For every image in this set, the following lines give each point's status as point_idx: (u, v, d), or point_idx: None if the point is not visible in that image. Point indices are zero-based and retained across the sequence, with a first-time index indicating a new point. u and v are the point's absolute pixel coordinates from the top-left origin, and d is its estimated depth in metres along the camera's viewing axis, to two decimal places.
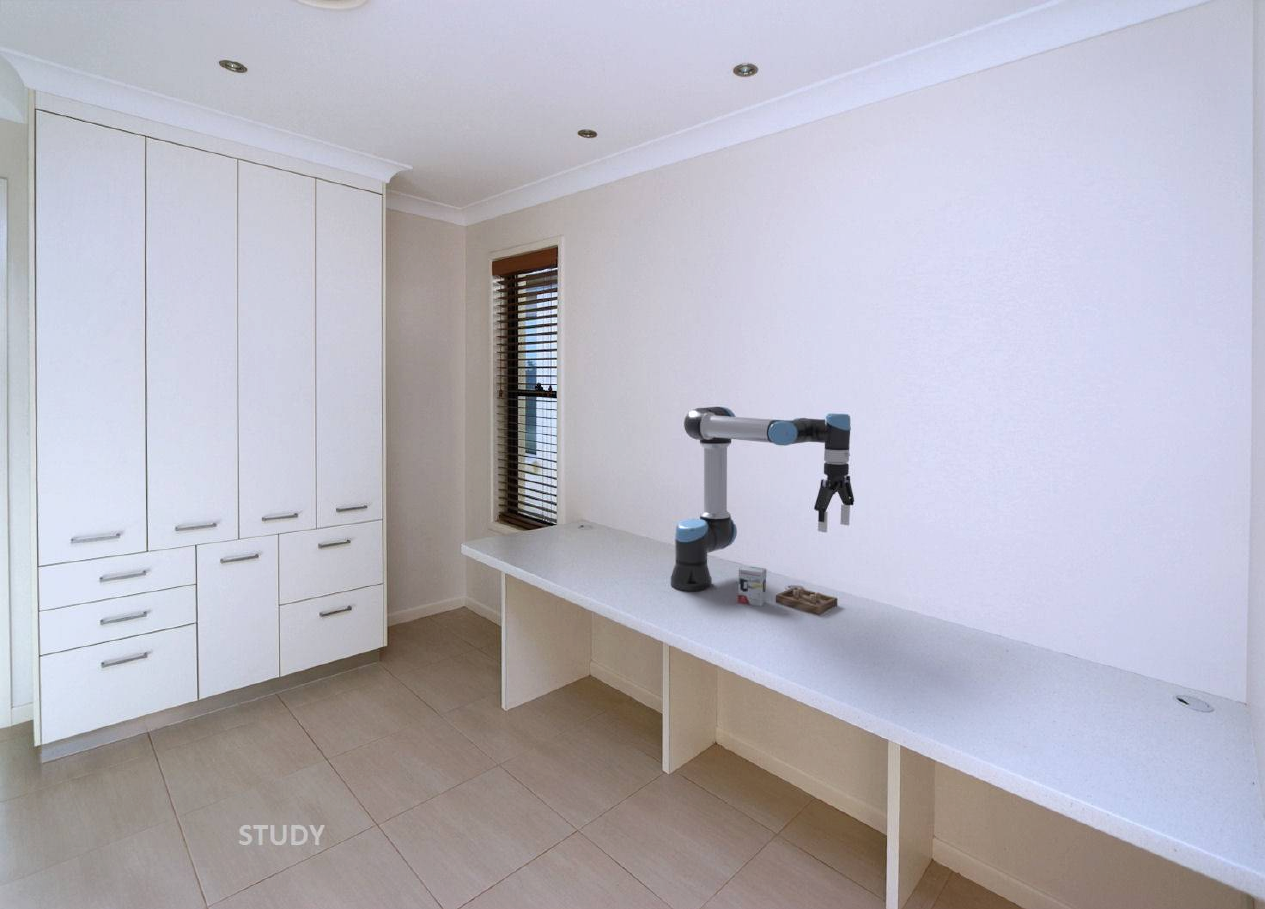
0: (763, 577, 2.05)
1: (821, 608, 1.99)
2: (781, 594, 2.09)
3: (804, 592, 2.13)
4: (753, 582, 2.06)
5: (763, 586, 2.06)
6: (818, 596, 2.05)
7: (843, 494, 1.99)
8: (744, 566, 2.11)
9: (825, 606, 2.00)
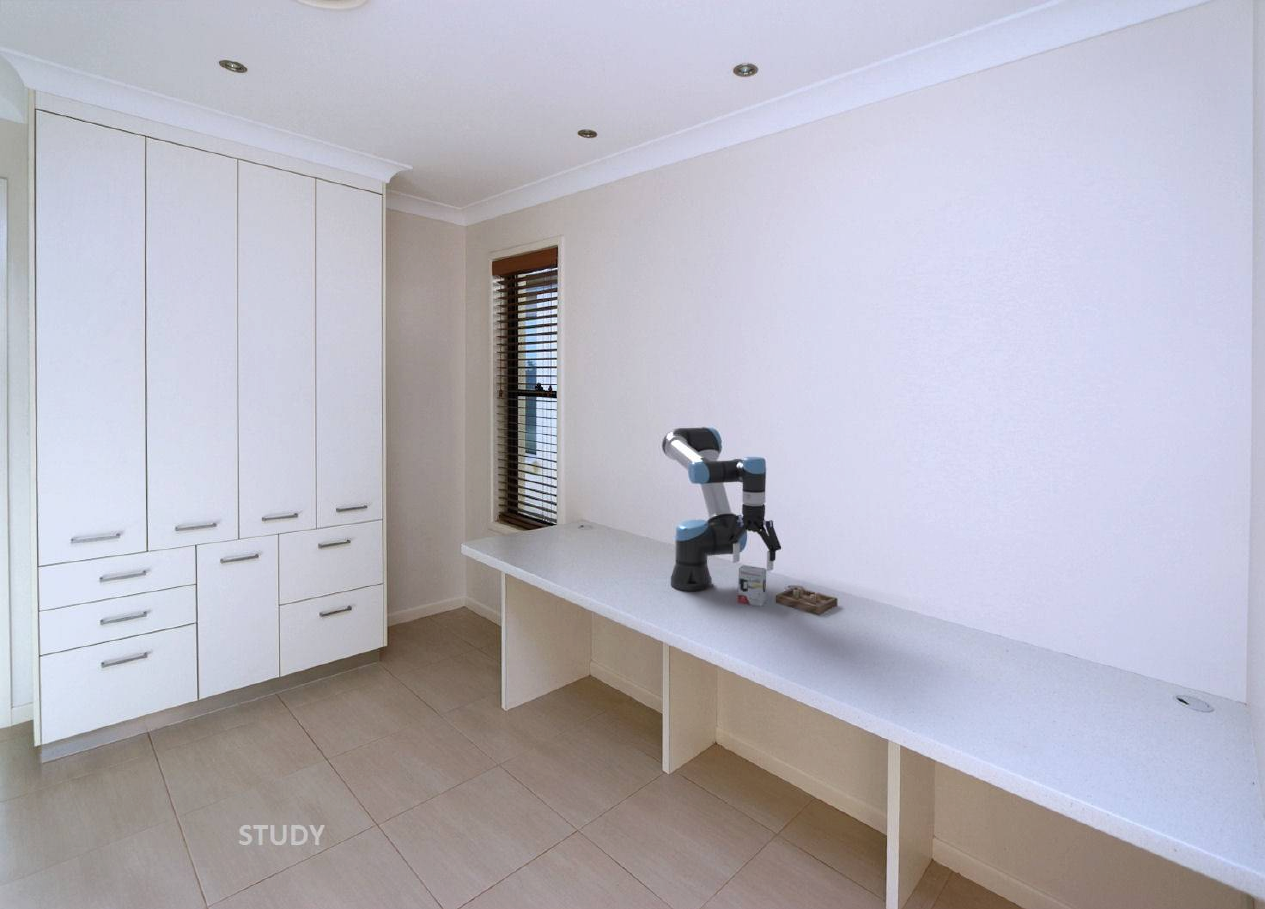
0: (763, 577, 2.05)
1: (821, 608, 1.99)
2: (781, 594, 2.09)
3: (804, 592, 2.13)
4: (753, 582, 2.06)
5: (763, 586, 2.06)
6: (818, 596, 2.05)
7: None
8: (744, 566, 2.11)
9: (825, 606, 2.00)
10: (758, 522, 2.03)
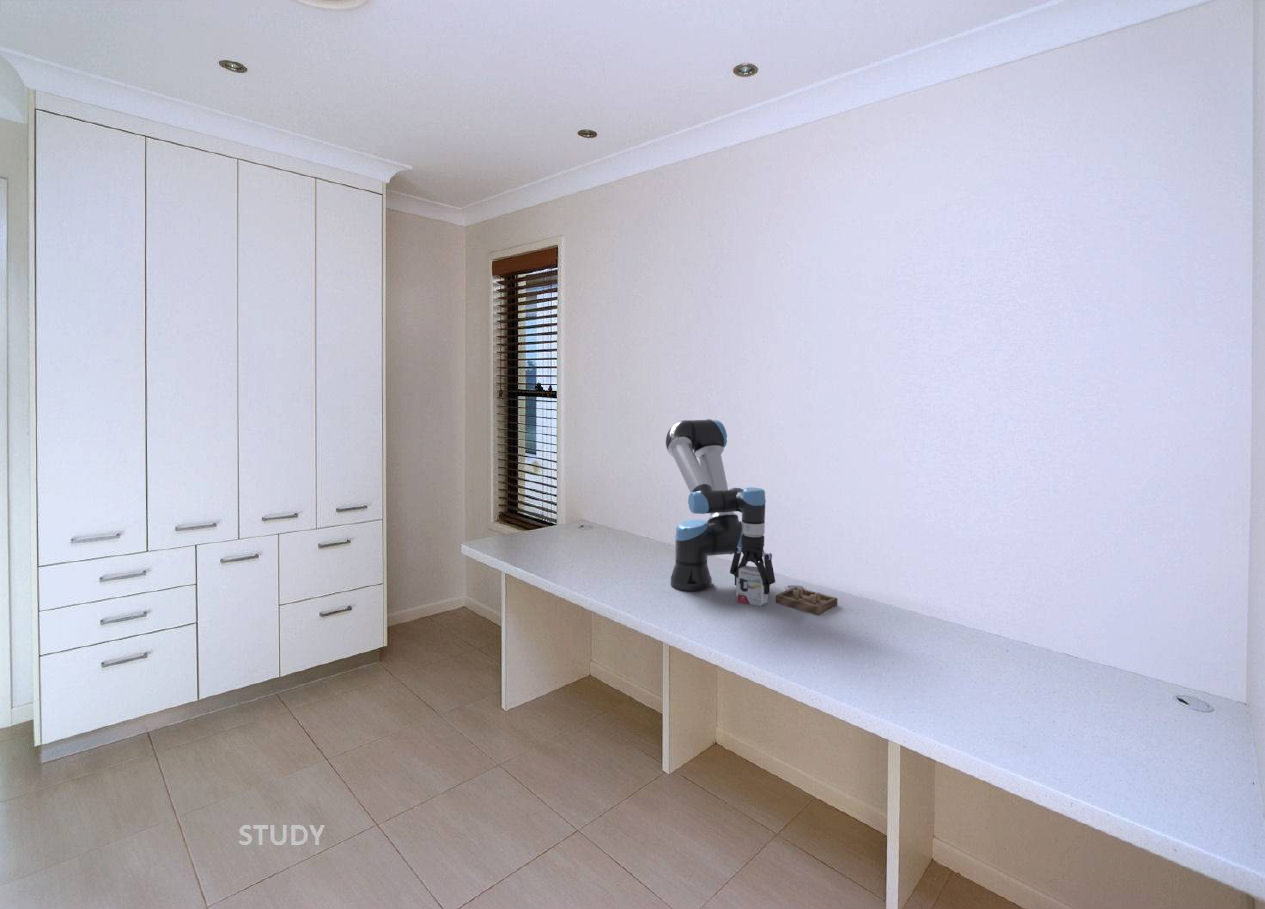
0: None
1: (821, 608, 1.99)
2: (781, 594, 2.09)
3: (804, 592, 2.13)
4: (753, 582, 2.06)
5: None
6: (818, 596, 2.05)
7: None
8: (744, 566, 2.11)
9: (825, 606, 2.00)
10: (757, 553, 2.05)
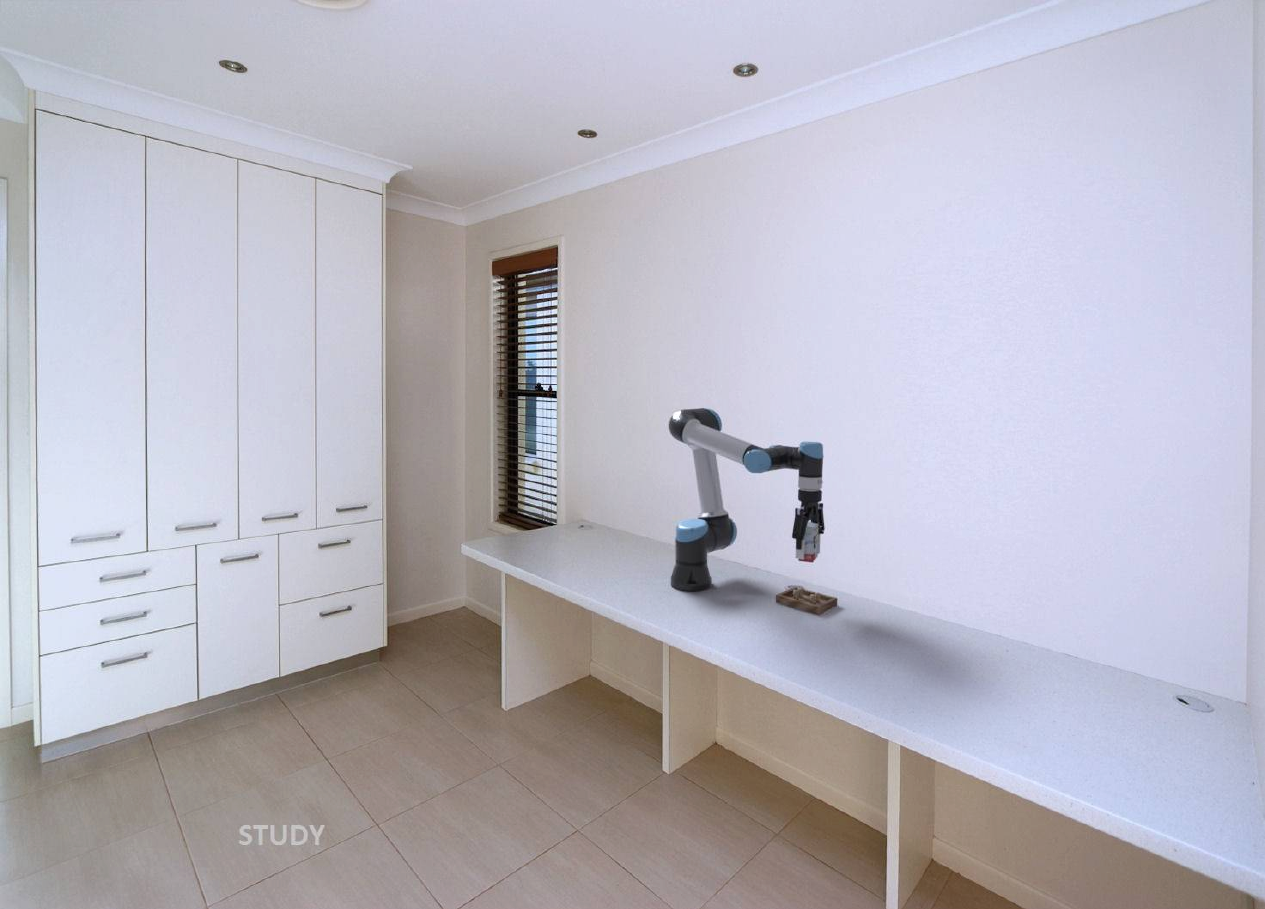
0: None
1: (821, 608, 1.99)
2: (781, 594, 2.09)
3: (804, 592, 2.13)
4: (816, 535, 2.05)
5: None
6: (818, 596, 2.05)
7: (815, 521, 2.06)
8: None
9: (825, 606, 2.00)
10: (816, 505, 2.05)
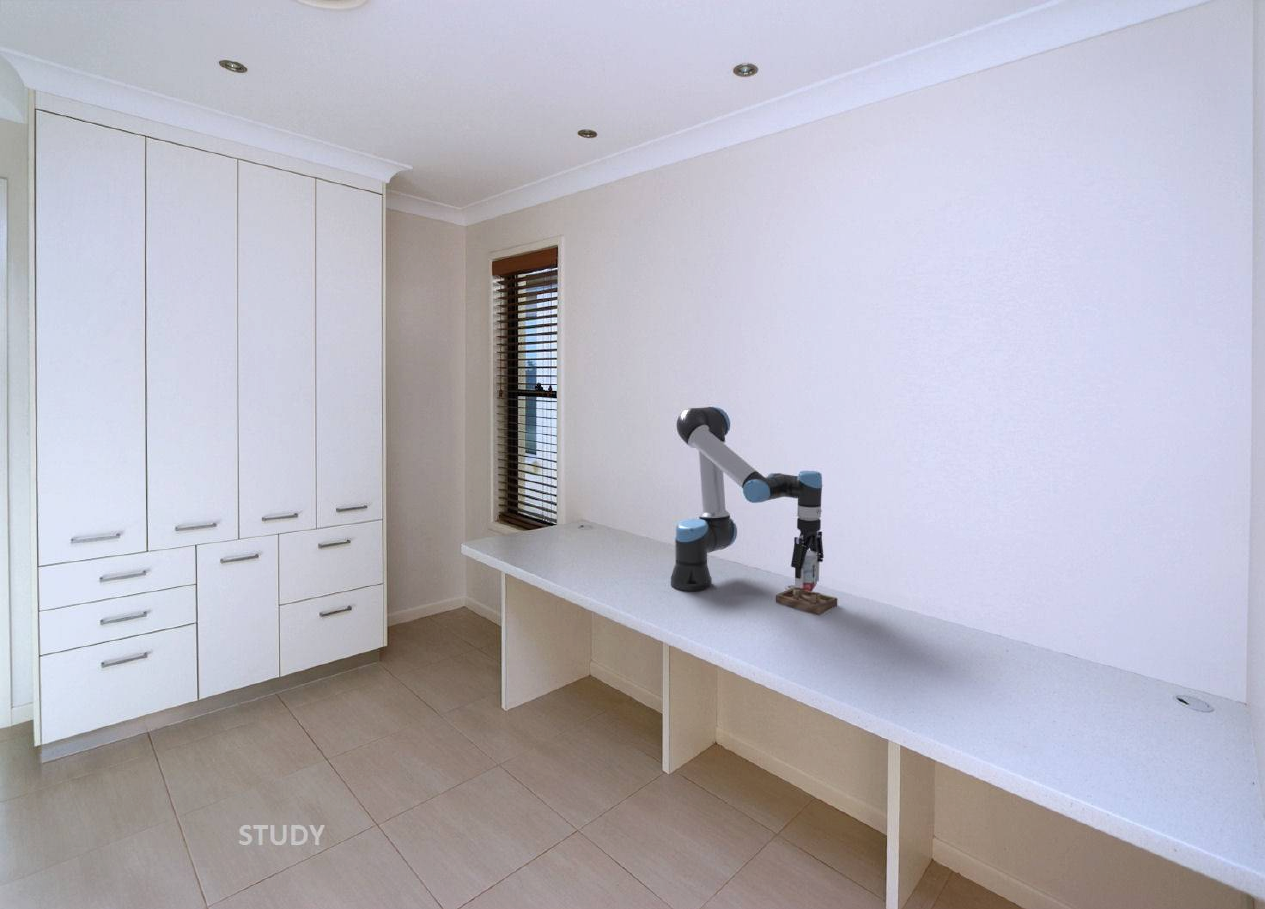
0: None
1: (821, 608, 1.99)
2: (781, 594, 2.09)
3: (804, 592, 2.13)
4: (815, 564, 2.06)
5: None
6: (818, 596, 2.05)
7: (814, 549, 2.07)
8: None
9: (825, 606, 2.00)
10: (815, 533, 2.06)
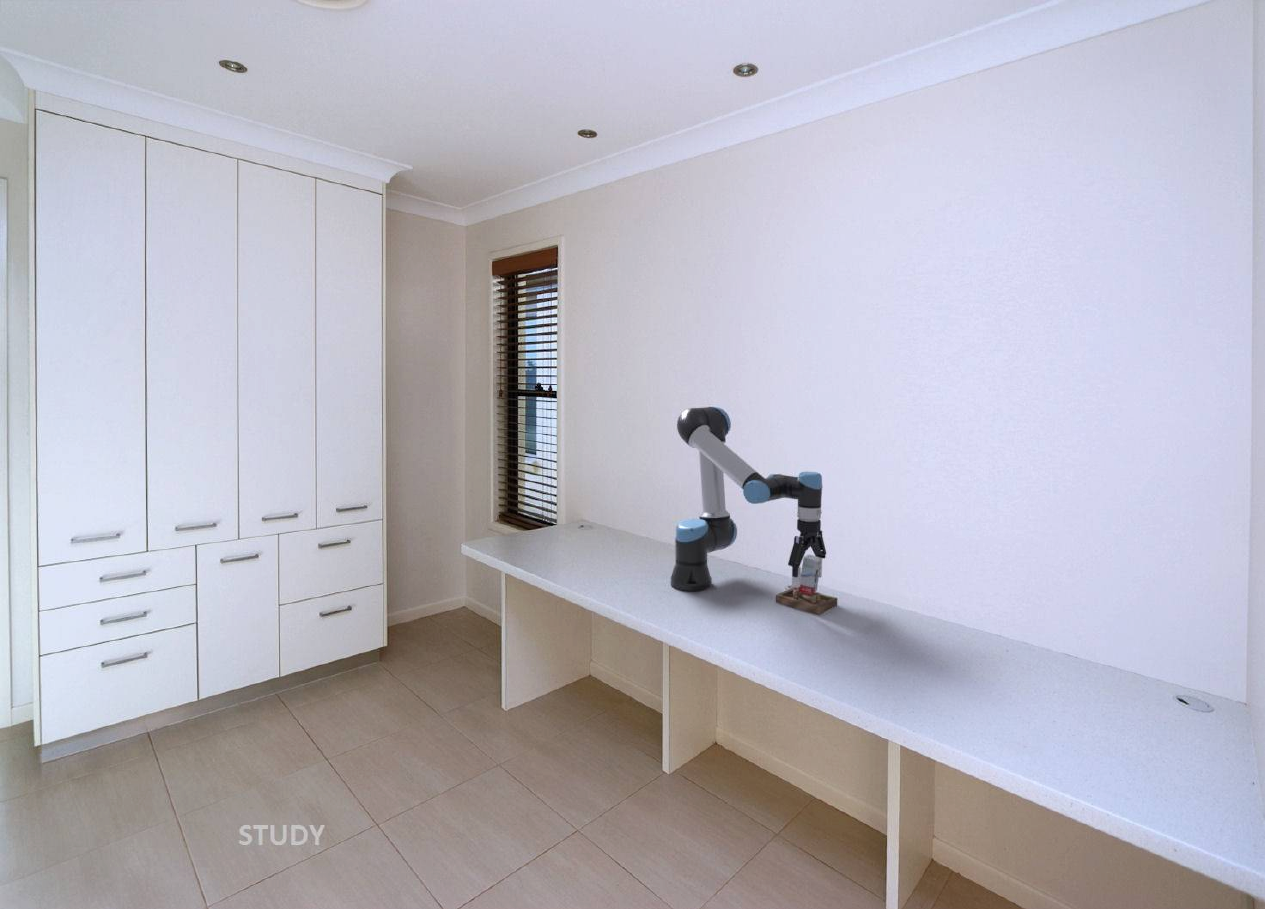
0: None
1: (821, 608, 1.99)
2: (781, 594, 2.09)
3: None
4: (819, 570, 2.07)
5: None
6: (818, 596, 2.05)
7: (815, 548, 2.08)
8: (808, 558, 2.04)
9: (825, 606, 2.00)
10: (815, 535, 2.06)
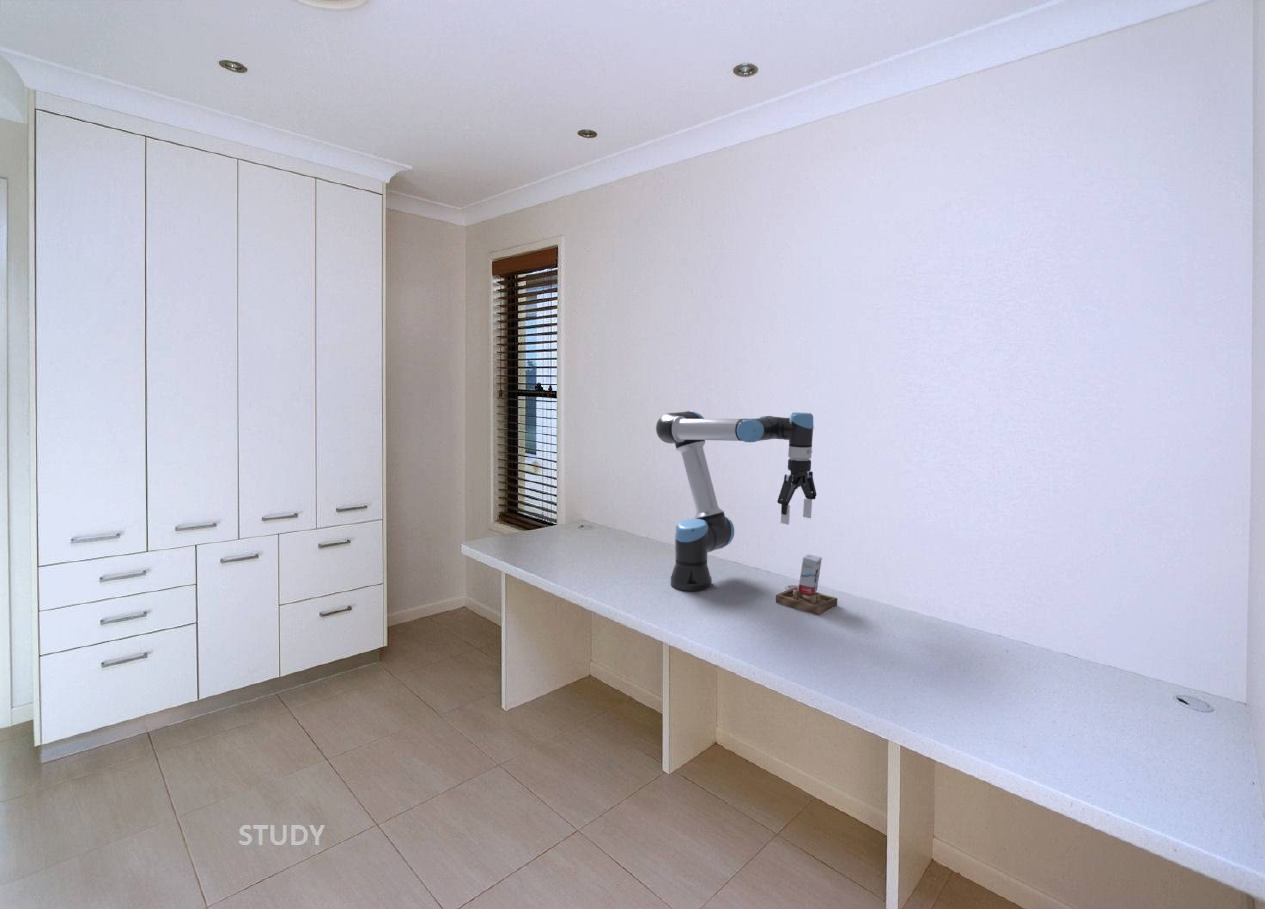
0: None
1: (821, 608, 1.99)
2: (781, 594, 2.09)
3: None
4: (818, 569, 2.07)
5: None
6: (818, 596, 2.05)
7: (806, 489, 2.11)
8: (807, 558, 2.04)
9: (825, 606, 2.00)
10: (806, 475, 2.09)
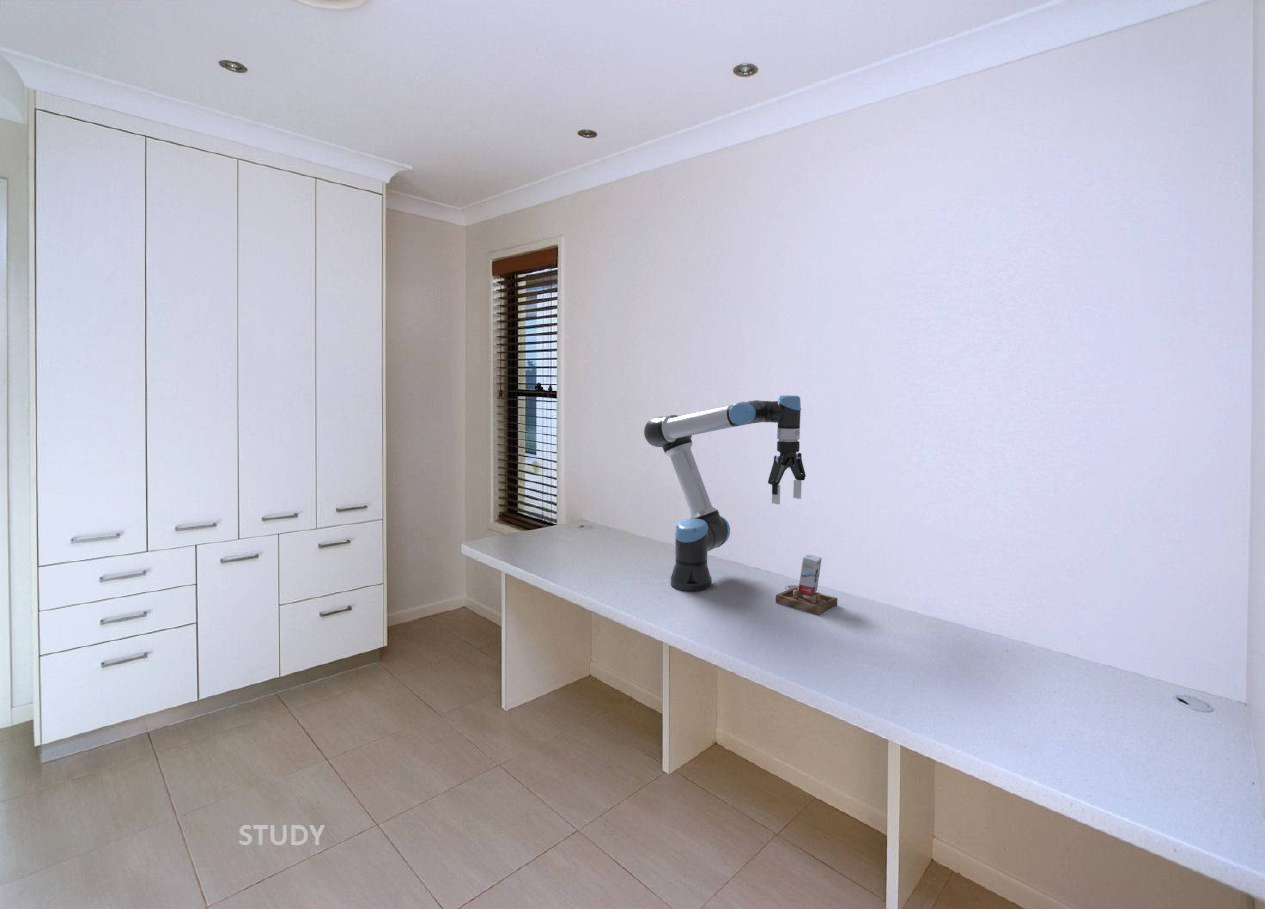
0: None
1: (821, 608, 1.99)
2: (781, 594, 2.09)
3: None
4: (818, 569, 2.07)
5: None
6: (818, 596, 2.05)
7: (795, 470, 2.17)
8: (807, 558, 2.04)
9: (825, 606, 2.00)
10: (795, 456, 2.15)
